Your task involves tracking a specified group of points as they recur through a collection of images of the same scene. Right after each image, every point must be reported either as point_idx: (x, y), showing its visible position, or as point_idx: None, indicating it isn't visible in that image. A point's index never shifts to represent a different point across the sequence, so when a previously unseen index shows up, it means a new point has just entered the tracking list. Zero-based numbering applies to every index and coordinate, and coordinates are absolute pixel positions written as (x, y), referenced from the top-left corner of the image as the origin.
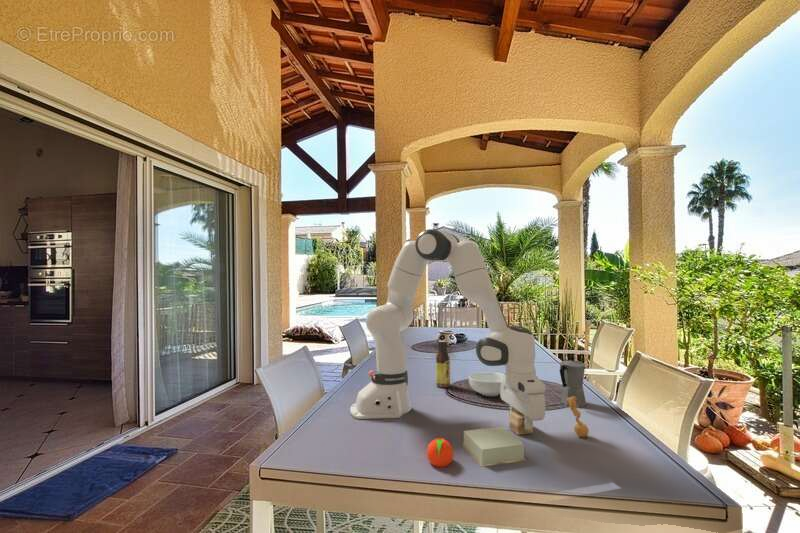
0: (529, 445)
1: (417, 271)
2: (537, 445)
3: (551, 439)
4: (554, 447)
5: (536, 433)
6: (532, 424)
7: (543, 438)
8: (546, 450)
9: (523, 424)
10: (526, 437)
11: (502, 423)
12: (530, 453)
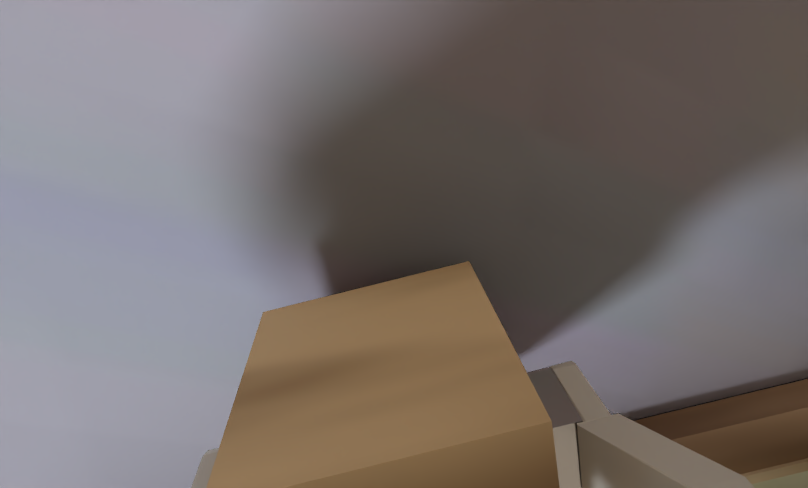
0: (628, 318)
1: None
2: (649, 248)
3: (542, 22)
4: (747, 81)
5: (345, 158)
6: (499, 323)
7: (498, 121)
8: (772, 197)
9: None
10: None
11: (76, 441)
12: (765, 348)
